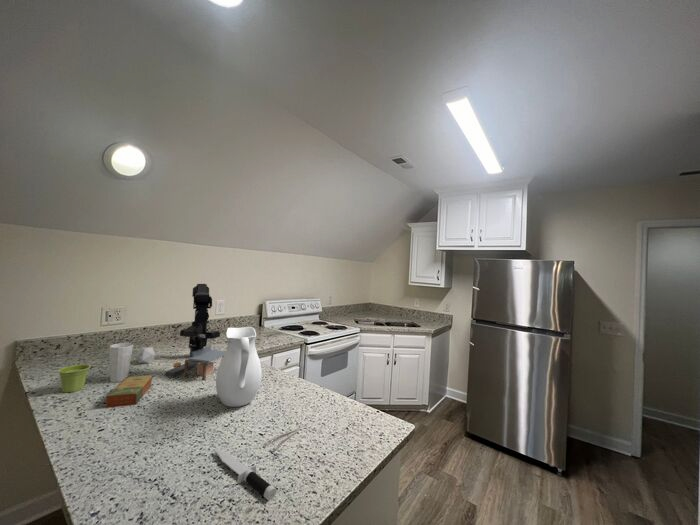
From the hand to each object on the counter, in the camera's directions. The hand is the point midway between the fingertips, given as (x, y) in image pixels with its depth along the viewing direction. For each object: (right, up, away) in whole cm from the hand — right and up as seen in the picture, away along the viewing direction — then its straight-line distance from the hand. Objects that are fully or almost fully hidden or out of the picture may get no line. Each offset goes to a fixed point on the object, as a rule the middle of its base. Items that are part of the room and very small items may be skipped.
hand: (198, 350), depth 138 cm
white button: (-8, -7, +5) cm, 12 cm away
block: (+4, -11, -1) cm, 12 cm away
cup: (-29, -9, -13) cm, 33 cm away
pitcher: (+32, -11, -31) cm, 46 cm away
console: (-9, -10, +1) cm, 13 cm away
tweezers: (+56, -12, -50) cm, 76 cm away
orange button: (-9, -7, -3) cm, 12 cm away
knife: (+47, -11, -67) cm, 82 cm away
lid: (+6, -2, -1) cm, 7 cm away
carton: (-12, -10, -28) cm, 32 cm away
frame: (+4, -11, -1) cm, 11 cm away
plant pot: (-38, -8, -25) cm, 46 cm away
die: (-34, -10, +10) cm, 37 cm away
